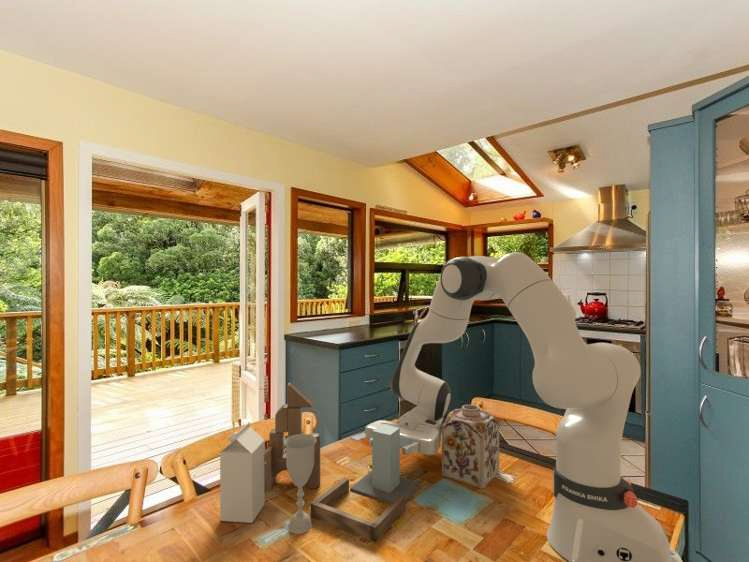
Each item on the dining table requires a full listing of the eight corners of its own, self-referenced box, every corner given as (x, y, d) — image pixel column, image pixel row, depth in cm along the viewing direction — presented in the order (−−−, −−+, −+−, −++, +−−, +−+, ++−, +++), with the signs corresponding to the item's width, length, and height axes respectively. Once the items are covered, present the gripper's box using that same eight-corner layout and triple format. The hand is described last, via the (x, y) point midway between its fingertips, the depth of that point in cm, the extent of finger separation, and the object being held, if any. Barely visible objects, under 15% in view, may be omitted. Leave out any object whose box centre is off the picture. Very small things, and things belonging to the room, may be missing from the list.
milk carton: (264, 504, 92) (264, 422, 91) (252, 524, 84) (251, 434, 84) (234, 503, 92) (234, 421, 92) (220, 521, 85) (219, 433, 85)
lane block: (399, 483, 100) (399, 428, 100) (390, 493, 96) (390, 435, 95) (382, 478, 102) (382, 424, 102) (372, 487, 98) (372, 430, 98)
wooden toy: (256, 491, 97) (255, 389, 97) (261, 477, 104) (261, 382, 104) (319, 488, 98) (319, 388, 98) (321, 475, 105) (321, 380, 105)
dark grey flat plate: (421, 485, 100) (421, 483, 100) (401, 506, 91) (401, 504, 91) (373, 471, 107) (373, 469, 107) (350, 490, 98) (350, 488, 98)
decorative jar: (483, 491, 98) (483, 417, 97) (440, 476, 105) (440, 408, 104) (500, 471, 107) (500, 405, 107) (460, 459, 114) (460, 397, 114)
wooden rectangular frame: (404, 509, 90) (404, 496, 90) (375, 542, 78) (375, 527, 78) (344, 489, 98) (344, 477, 98) (310, 517, 87) (310, 503, 87)
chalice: (281, 519, 86) (281, 436, 86) (312, 512, 88) (312, 432, 88) (286, 540, 79) (286, 450, 79) (320, 532, 82) (320, 445, 81)
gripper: (379, 411, 117) (353, 426, 105) (445, 425, 107) (425, 443, 95) (379, 432, 117) (353, 450, 105) (445, 448, 107) (424, 470, 95)
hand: (387, 447), depth 100 cm, fingers open, 8 cm apart
